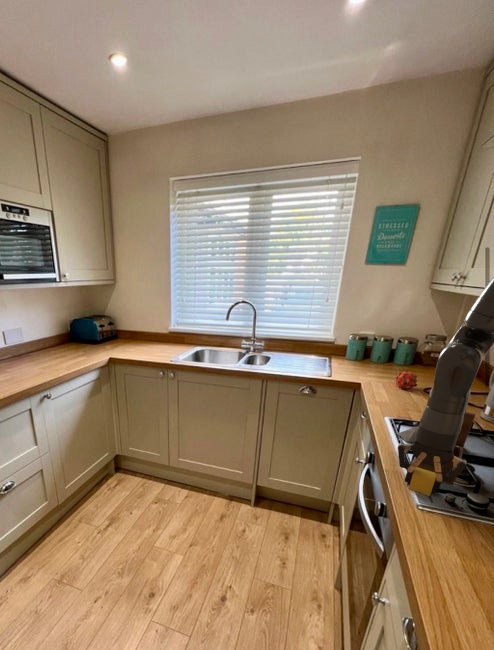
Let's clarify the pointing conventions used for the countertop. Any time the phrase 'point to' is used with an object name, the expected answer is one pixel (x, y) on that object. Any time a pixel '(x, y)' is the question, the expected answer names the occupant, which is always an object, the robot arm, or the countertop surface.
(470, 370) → the robot arm
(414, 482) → the block
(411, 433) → the paper boat
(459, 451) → the chest
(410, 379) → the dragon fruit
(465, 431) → the lid
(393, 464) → the countertop surface
